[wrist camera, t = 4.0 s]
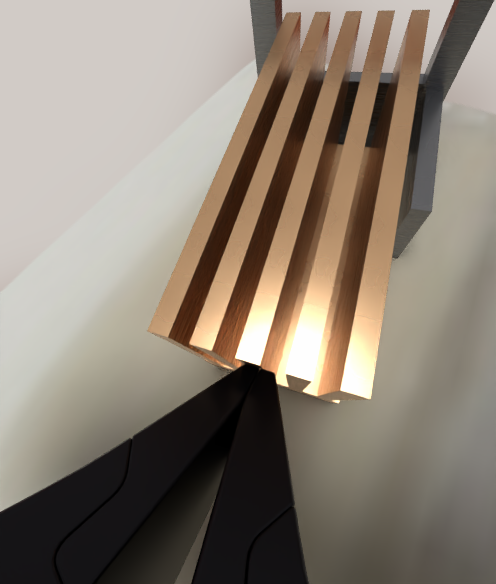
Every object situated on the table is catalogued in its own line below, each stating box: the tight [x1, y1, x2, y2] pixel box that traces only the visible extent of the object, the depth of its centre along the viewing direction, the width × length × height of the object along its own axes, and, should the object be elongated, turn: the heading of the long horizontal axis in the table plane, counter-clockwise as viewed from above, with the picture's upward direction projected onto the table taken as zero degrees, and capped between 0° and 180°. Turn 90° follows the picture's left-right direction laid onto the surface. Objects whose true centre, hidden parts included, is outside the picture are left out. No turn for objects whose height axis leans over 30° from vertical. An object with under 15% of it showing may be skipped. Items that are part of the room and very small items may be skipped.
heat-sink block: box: [147, 10, 430, 403], centre depth 12 cm, size 14×6×8 cm, turn 162°
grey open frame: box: [250, 0, 494, 258], centre depth 13 cm, size 9×10×10 cm
